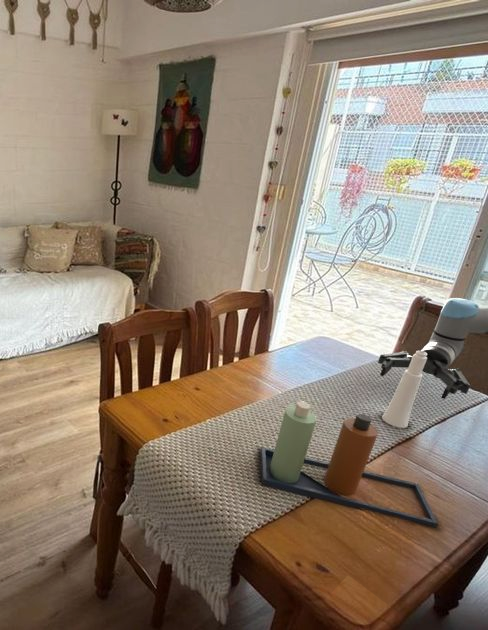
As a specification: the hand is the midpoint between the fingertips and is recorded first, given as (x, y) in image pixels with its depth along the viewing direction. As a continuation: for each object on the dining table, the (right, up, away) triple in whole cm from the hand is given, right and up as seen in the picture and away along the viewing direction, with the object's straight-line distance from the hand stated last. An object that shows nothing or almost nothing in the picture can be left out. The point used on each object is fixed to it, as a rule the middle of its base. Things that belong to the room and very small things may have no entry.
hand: (412, 382), depth 115 cm
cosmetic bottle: (-3, -12, +2) cm, 13 cm away
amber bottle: (-32, -20, -20) cm, 42 cm away
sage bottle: (-42, -18, -16) cm, 48 cm away
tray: (-32, -20, -19) cm, 42 cm away
